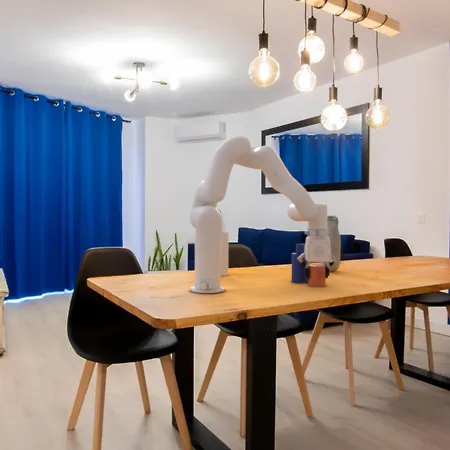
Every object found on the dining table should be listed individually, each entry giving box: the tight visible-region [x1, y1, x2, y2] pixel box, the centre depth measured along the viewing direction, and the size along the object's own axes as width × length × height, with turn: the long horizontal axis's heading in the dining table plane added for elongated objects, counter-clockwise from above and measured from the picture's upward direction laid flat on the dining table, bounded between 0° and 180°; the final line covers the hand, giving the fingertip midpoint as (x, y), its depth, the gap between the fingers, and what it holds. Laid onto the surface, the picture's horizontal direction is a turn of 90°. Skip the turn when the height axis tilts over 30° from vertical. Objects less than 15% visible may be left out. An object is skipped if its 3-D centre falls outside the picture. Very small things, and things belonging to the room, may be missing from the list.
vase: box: [220, 231, 229, 277], centre depth 208 cm, size 11×7×20 cm, turn 20°
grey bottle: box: [319, 215, 342, 272], centre depth 219 cm, size 10×10×28 cm
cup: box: [307, 264, 327, 288], centre depth 176 cm, size 7×7×8 cm
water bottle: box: [291, 243, 308, 284], centre depth 185 cm, size 7×7×16 cm
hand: (317, 277), depth 176 cm, fingers closed on cup, 6 cm apart
